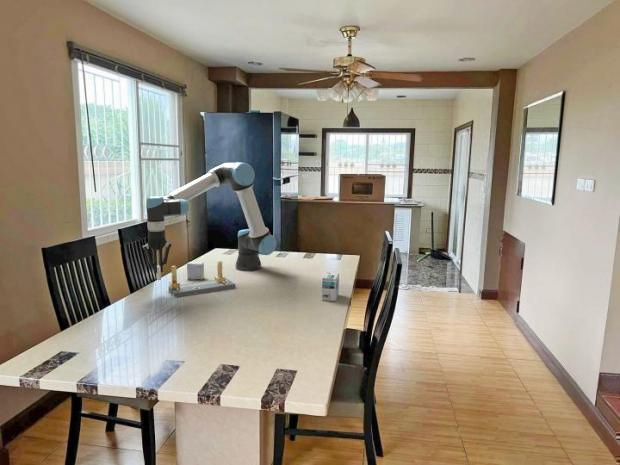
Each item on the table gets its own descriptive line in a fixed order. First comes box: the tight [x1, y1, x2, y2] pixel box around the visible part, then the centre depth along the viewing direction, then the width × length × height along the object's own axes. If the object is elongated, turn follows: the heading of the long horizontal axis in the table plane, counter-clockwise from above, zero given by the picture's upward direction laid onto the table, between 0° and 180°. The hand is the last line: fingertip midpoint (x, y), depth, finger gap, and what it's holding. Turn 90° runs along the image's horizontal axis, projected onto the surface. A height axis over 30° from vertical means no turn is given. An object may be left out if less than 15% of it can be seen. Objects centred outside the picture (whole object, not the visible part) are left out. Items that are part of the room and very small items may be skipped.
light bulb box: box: [321, 272, 340, 302], centre depth 207 cm, size 11×7×11 cm, turn 168°
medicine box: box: [186, 261, 205, 281], centre depth 236 cm, size 8×4×9 cm, turn 84°
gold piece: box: [168, 265, 181, 291], centre depth 210 cm, size 4×9×10 cm, turn 32°
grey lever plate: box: [167, 260, 236, 298], centre depth 217 cm, size 30×12×12 cm, turn 122°
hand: (158, 279), depth 208 cm, fingers closed
